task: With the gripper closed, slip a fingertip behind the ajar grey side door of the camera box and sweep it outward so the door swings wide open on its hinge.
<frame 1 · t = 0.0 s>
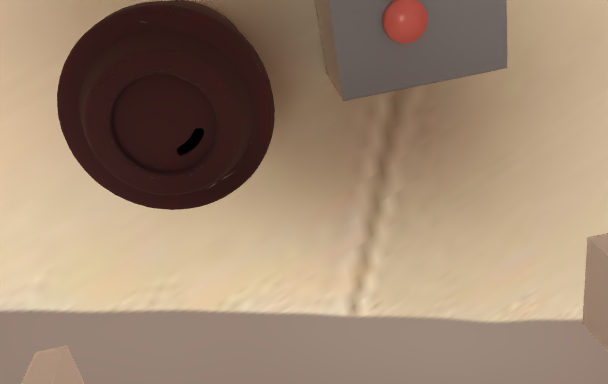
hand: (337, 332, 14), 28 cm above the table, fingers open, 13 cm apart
coffee cup: (189, 54, 39), on the table
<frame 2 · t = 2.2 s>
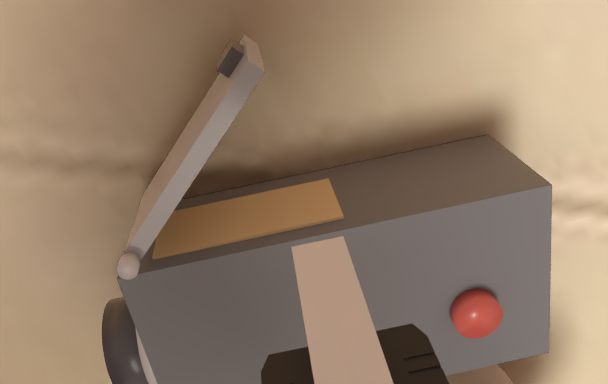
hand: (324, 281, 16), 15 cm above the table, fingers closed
camera box: (329, 246, 34), on the table
side door: (189, 139, 26), point 4 cm above the table, hinge at 45.0°
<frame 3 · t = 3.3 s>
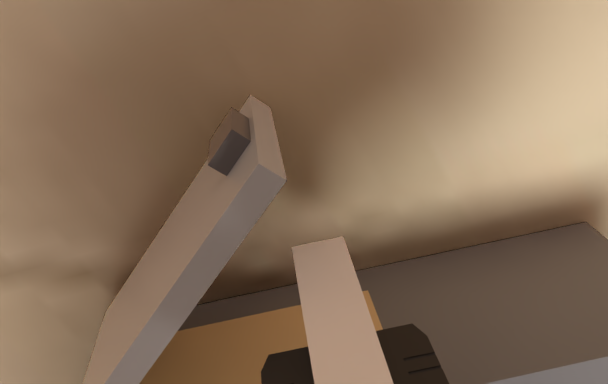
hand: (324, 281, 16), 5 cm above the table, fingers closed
camera box: (363, 366, 25), on the table
side door: (166, 256, 17), point 4 cm above the table, hinge at 45.0°
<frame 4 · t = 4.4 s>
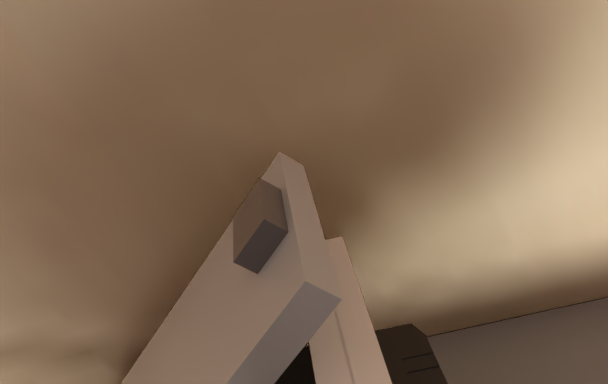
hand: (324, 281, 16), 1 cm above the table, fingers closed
side door: (182, 358, 14), point 4 cm above the table, hinge at 45.9°, touching gripper
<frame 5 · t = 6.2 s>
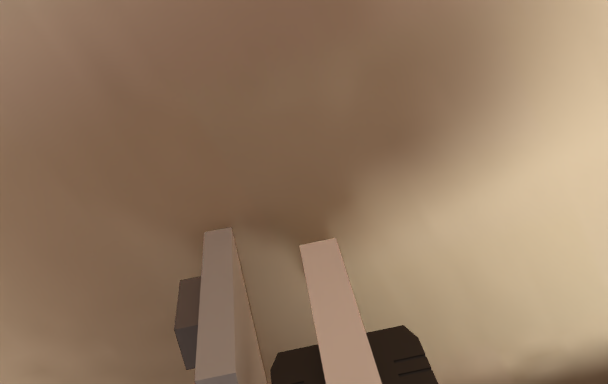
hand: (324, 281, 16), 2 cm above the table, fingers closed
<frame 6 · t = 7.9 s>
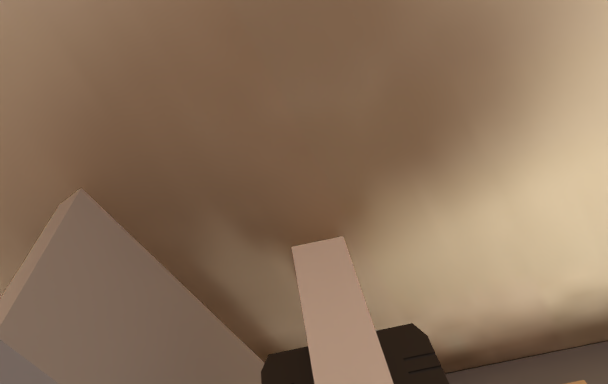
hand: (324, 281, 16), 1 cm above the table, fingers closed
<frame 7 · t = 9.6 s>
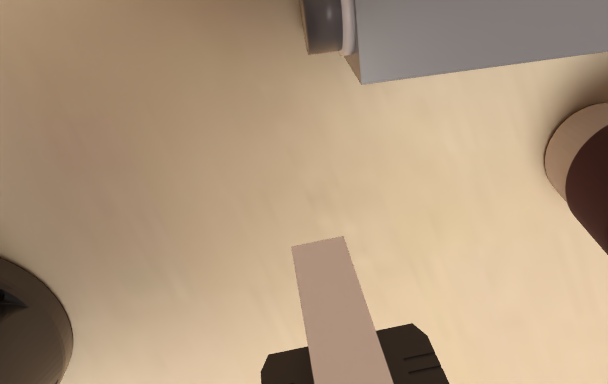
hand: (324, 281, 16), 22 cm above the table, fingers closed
coffee cup: (591, 149, 40), on the table
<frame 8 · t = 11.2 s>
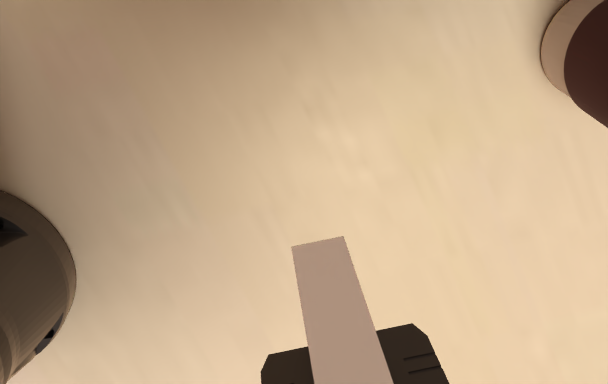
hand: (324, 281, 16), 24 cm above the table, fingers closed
coffee cup: (586, 42, 40), on the table
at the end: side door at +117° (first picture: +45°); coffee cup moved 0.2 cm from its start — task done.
